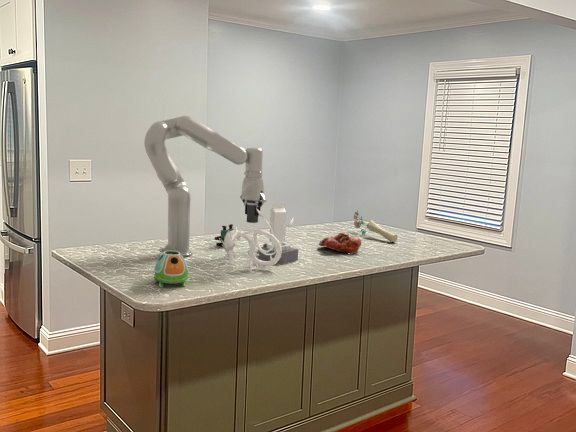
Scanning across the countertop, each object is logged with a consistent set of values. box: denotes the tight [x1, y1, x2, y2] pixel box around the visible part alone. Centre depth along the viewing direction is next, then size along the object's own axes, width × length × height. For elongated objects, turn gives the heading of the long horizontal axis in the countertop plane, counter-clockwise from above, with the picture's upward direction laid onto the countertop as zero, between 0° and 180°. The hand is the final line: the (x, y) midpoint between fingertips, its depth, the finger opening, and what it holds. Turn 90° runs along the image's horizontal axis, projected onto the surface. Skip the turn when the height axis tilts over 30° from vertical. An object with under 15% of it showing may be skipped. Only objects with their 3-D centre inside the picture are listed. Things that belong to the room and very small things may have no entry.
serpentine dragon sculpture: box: [221, 209, 295, 273], centre depth 239 cm, size 43×20×25 cm, turn 127°
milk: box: [268, 204, 287, 242], centre depth 273 cm, size 6×6×22 cm
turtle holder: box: [153, 251, 189, 288], centre depth 212 cm, size 12×18×12 cm
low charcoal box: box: [257, 241, 299, 265], centre depth 255 cm, size 11×14×7 cm
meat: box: [318, 232, 362, 254], centre depth 280 cm, size 21×21×10 cm
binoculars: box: [214, 223, 236, 248], centre depth 278 cm, size 9×11×10 cm
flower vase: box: [353, 209, 399, 243], centre depth 317 cm, size 12×12×35 cm
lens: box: [246, 200, 259, 224], centre depth 260 cm, size 5×5×10 cm
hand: (252, 214), depth 260 cm, fingers closed on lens, 5 cm apart
